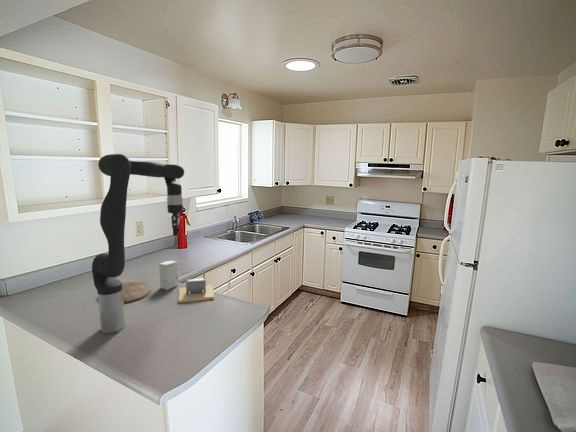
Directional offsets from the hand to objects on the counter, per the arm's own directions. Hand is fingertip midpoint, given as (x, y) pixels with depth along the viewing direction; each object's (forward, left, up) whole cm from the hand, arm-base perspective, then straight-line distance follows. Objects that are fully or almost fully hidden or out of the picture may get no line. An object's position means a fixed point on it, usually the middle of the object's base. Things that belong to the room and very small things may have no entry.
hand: (176, 233), depth 160 cm
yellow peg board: (-3, -9, -34) cm, 36 cm away
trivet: (+7, +28, -35) cm, 45 cm away
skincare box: (+12, +6, -35) cm, 37 cm away
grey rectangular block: (-3, -9, -33) cm, 34 cm away
